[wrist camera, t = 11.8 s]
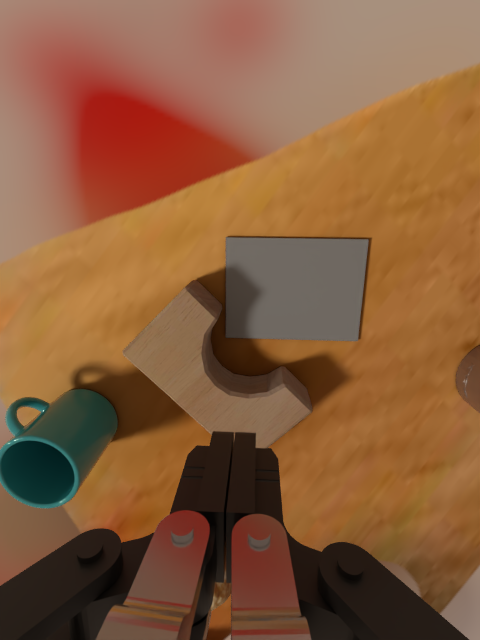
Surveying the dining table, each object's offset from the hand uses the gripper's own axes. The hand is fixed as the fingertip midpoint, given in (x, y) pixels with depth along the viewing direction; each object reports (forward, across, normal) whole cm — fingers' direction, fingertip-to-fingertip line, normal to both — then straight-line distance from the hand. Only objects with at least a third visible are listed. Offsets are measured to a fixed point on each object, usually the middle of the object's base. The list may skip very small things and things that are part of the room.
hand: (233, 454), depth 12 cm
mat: (+31, -5, 0) cm, 31 cm away
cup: (+31, +23, +17) cm, 42 cm away
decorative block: (+28, +11, +2) cm, 30 cm away
